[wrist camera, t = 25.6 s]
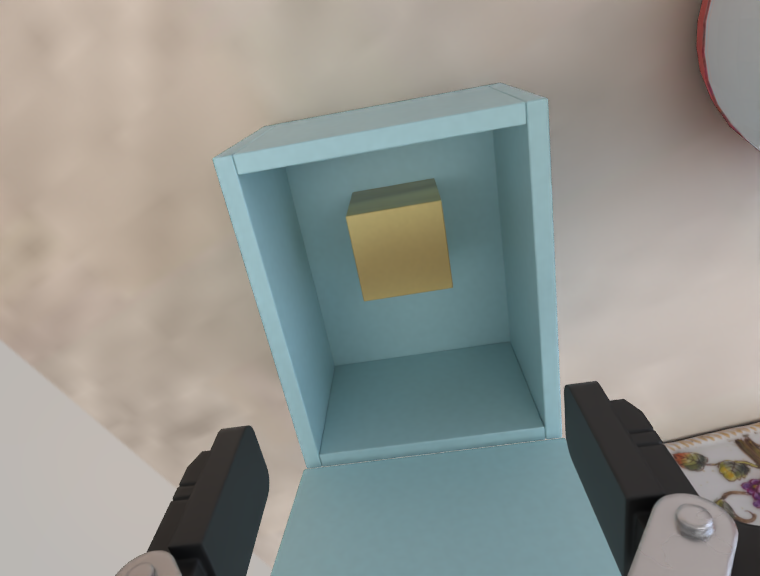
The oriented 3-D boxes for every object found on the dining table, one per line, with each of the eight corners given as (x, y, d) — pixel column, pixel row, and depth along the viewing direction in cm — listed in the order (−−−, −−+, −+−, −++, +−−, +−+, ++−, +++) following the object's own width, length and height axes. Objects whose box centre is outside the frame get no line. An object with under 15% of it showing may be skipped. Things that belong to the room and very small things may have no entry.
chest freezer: (263, 126, 28) (211, 158, 20) (501, 82, 27) (548, 97, 19) (326, 370, 34) (306, 469, 26) (521, 343, 33) (562, 438, 25)
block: (351, 192, 28) (345, 216, 24) (434, 177, 28) (441, 200, 24) (367, 267, 30) (363, 302, 26) (445, 255, 30) (453, 288, 26)
